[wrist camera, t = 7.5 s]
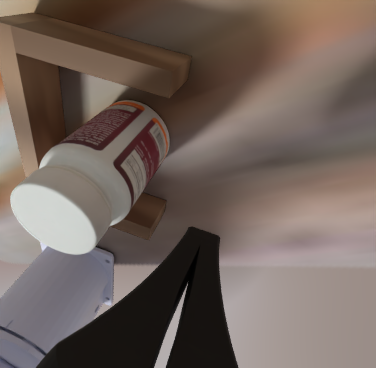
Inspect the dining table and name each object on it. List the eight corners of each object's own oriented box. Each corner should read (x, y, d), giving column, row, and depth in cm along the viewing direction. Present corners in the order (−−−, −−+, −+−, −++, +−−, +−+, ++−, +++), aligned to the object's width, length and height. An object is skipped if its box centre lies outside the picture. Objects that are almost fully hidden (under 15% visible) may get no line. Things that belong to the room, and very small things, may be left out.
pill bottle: (93, 137, 19) (-6, 219, 13) (120, 81, 16) (9, 151, 10) (150, 178, 20) (83, 275, 13) (185, 131, 17) (122, 227, 10)
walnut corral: (164, 211, 21) (149, 240, 19) (57, 174, 23) (30, 197, 20) (191, 56, 14) (172, 71, 12) (33, 12, 15) (-13, 18, 13)
